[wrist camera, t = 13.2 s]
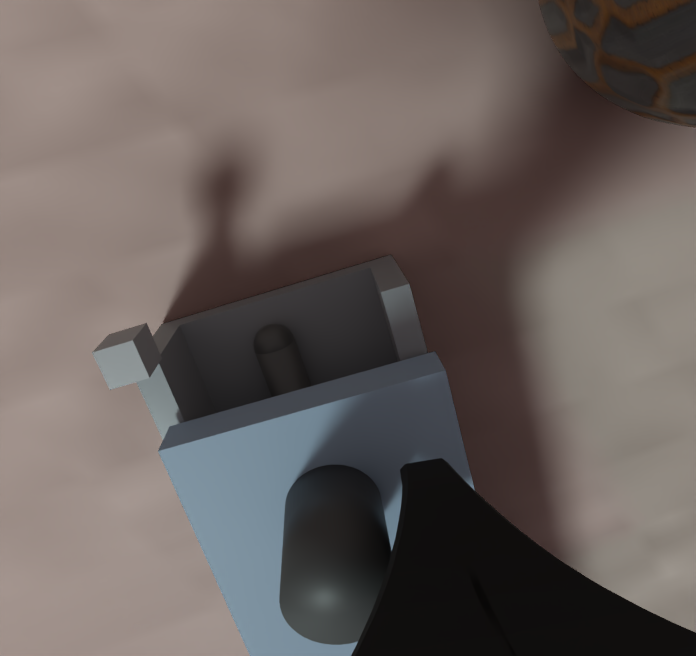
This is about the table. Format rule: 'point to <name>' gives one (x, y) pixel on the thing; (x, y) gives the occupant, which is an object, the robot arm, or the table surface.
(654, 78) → the vase
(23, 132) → the table surface
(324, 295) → the grey u-channel
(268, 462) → the cover
